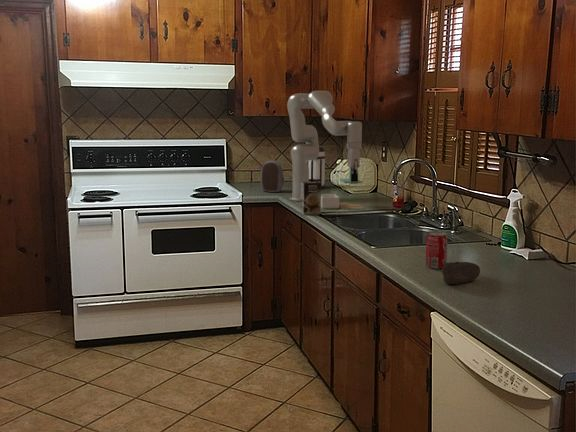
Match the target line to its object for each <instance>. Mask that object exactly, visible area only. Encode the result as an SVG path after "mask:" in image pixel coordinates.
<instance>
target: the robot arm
mask: <svg viewBox="0 0 576 432" xmlns="http://www.w3.org/2000/svg"><path fill="white" fill-rule="evenodd" d="M333 102H334V97H333V95H332V93H331V92H330V91H328V90H313V91H311V92H310V93H302V92H301V93H300V92H298V93H294V94H291V95H290V96H289V98H288V101H287V104H286V106H287V112H288V113H287V114H288V117H289V124H290V134H291V139H292V141H293V142H295V143H302V144H296V145H294V146H292V148H291V149H290V157H291V165H292V169H291V170H292V173H291V175H292V177H291V178H292V187H291V188H292V190H291V191H292V193H291V194H292V196H290V197H289V201H295V202H301V182H309V167H308V164H307V162H306V161H310V160H315V159H317V158H318V156H319V146H320V145H319V143H320V142H319V136H318V135H319V133H318V131H317V129H316V127H315V126H314V125H312V124H306V118H305V115H304V113H303V111H302V109H303V110H307V109H308V110H309V109H310V110H313V109H314V110H315V111H316V112H318V114H319V115H320V116H321V123H322V126H323V127H324V128H325V129H326V130H327V132H328V133H329V134H331V135H332V136H336V137H337V136H338V137H339V136H346V149H347V150H348V151H347V164H346V165H347V167H348V168H349V172H352V174H351V181H352V182H353V181H358V179H359V172H358V171H359V170H358V169H359V167H360V163H361V160H360V159H361V155H360V154H361V153H360V152H361V151H360V150H361V149H363V148H362V141H363V140H362V138H363V123H362V122H361V121H351V120H336V119H335V118H333V114H334V113H335V111H336V107H335V105H334V104H333Z"/></svg>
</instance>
